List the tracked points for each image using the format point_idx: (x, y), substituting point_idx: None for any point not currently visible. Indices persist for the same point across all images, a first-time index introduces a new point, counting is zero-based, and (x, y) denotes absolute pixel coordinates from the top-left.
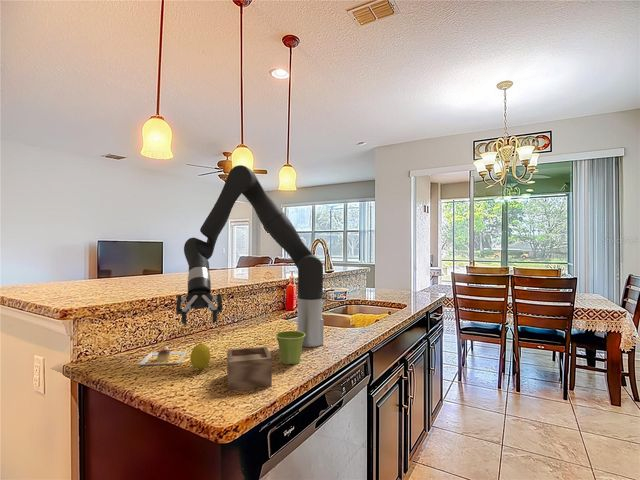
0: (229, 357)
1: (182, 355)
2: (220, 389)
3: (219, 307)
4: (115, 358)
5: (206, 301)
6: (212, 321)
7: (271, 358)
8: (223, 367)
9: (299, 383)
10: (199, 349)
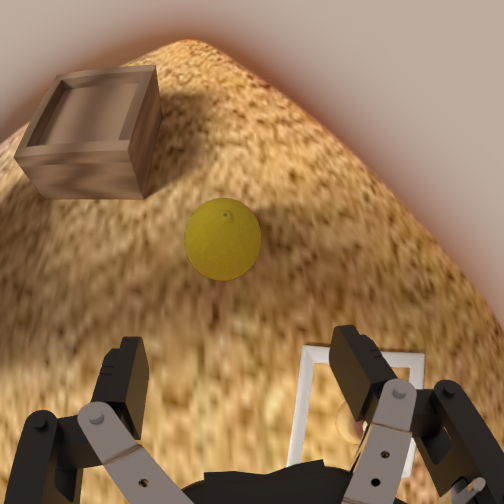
0: (144, 86)
1: (299, 446)
2: (177, 124)
3: (53, 418)
4: None
5: (178, 489)
6: (145, 373)
7: (58, 75)
8: (143, 268)
9: (27, 125)
10: (229, 199)
